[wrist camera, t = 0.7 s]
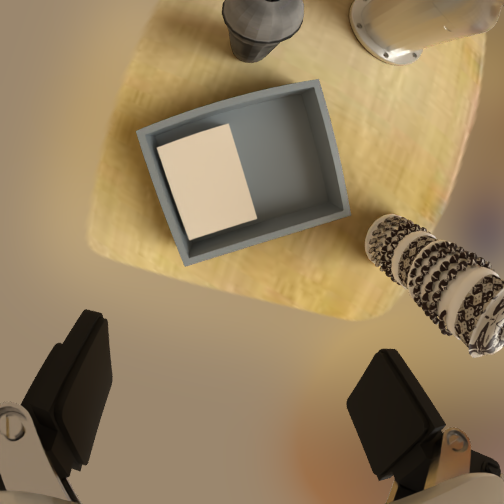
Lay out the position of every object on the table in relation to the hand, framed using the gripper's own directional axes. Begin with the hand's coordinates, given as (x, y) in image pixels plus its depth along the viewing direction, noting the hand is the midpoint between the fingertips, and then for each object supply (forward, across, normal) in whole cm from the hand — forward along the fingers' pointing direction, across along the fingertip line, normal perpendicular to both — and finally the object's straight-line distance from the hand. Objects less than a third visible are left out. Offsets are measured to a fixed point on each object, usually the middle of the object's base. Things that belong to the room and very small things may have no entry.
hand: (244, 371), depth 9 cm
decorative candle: (+30, -25, +1) cm, 39 cm away
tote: (+30, -1, -4) cm, 30 cm away
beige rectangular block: (+28, +3, -2) cm, 29 cm away
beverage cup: (+30, +2, -19) cm, 36 cm away
